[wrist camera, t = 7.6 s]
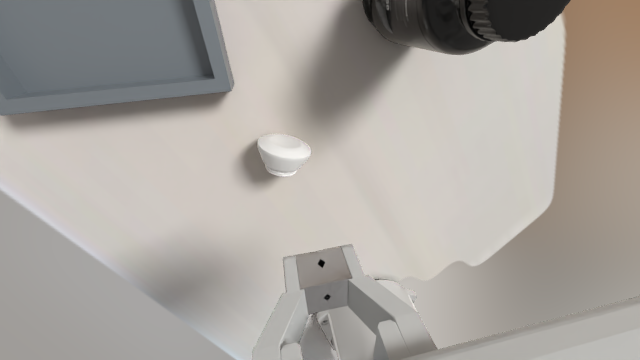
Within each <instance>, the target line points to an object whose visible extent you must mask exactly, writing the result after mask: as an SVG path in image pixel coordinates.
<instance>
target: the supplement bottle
mask: <svg viewBox="0 0 640 360" xmlns="http://www.w3.org/2000/svg"><path fill="white" fill-rule="evenodd" d="M569 2H570V0H459V8H457V7H455V6H454V5H453V4H452V2H451V0H386V15H387V20H388V24H389V26H390V29H391V30H392V32H393V33H391V32H389V31H388V30H387V29H386V28H385V27H384V25H383V24H382V22H381V20H380V18H379V16H378V13H377V9H376V4H375V0H370V10H371V15H372V19H373V22H374V24H375V26H376V28H377V30H378V31H379V32H380V34H381V35H382V36H383V37H385V38H386V39H387V40H389V41H391V42H394V43H397V44H401V45H406V46H411V47H416V48H421V49H426V50H430V51H435V52H440V53H445V54H451V55H464V54H469V53H473V52H476V51H478V50H481V49H483V48H485V47H486V46H488V45H490V44H491V43H493V42H495V41H502V42H517V41H520V40H526V39H528V38H529V37H530V36H535V35H536V34H537V33H538V32H539V31H542V30H544V29H545V28H546V27H547V26H548V25H549V24H551V23H552V22H553V21H554V20H555V18H556V17H557V16H558V15H559V14H561V13H562V11H563V10H564V8H565V6H566V5H567V4H568V3H569Z"/></svg>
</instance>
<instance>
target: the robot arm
mask: <svg viewBox="0 0 640 360" xmlns="http://www.w3.org/2000/svg"><path fill="white" fill-rule="evenodd" d="M283 265H284V276H285V287H286V293H283V294H282V295H281V297H280V299H279V301H278V303H277V305H276V307H275V309H274V311H273V313H272V315H271V316H270V318H269V320H268V322H267V324H266V326H265V328H264V330H263V332H262V334H261V336H260V337H259V339H258V341H257V343H256V345H255V347H254V349H253V351H252V360H303V355H302V351H301V346H300V345H299V342H300V339H301V337H302V334H303V331H304V328H305V325H306V322H307V319H308V315H310V314H314V313H317V312H318V313H317V314H316V317H317V321H318V323H319V325H320V326H321V328H322V330H323V332H324V334H325V335H326V337H327V339H328V341H329V343H330V344H331V346H332V348H333V350H335V351H336V352H337V356H338V360H640V296H638V297H634V298H630V299H626V300H623V301H619V302H615V303H611V304H608V305H604V306H601V307H596V308H593V309H589V310H585V311H582V312H578V313H574V314H570V315H566V316H563V317H559V318H555V319H551V320H547V321H543V322H540V323H536V324H532V325H529V326H525V327H521V328H517V329H513V330H510V331H506V332H502V333H498V334H494V335H491V336H487V337H484V338H480V339H476V340H472V341H468V342H464V343H461V344H457V345H453V346H449V347H446V348H442V349H437V347H436V345H435V344H434V342H433V340H432V338H431V336H430V334H429V332H428V330H427V329H426V327H425V325H424V323H423V321H422V319H421V317H420V315H419V313H418V312H417V311H416V309H415V307H414V304H413V303H414V301H415V300H416V298H417V296H416V294H415V291H413V290H410V289H405V288H403V287H402V286H401V285H400V284H398V283H396V282H394V281H390V280H375V279H373V278H372V277H371V276H369V275H366V276H365V274H364V271H363V269H362V266H361V264H360V261H359V259H358V257H357V254H356V252H355V249H354V247H353V245H352V244H349V245H344V246H338V247H333V248H328V249H323V250H319V251H316V252H310V253H304V254H298V255H296V257H295V255H293V256H287V257H283Z"/></svg>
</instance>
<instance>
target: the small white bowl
mask: <svg viewBox="0 0 640 360" xmlns="http://www.w3.org/2000/svg"><path fill="white" fill-rule="evenodd" d="M257 148H258V151H259V153H260V156H261V158H262V161H263V162H264V163H265V168H266V170H267V171H268V172H270V173H271V174H273V175H276V176H281V177H288V176H292V175H294V174H295V173H296V171H297V170H298V169H300V168H301V167H302V165H303V164H304V163H305V162H306V161H307V160H308V159H309V157H310V155H311V152H312V151H311V148H310V147H309V146H308V145H307V144H306V143H305V142H303V141H302V140H300V139H298V138H296V137H293V136H290V135H286V134H268V135H264V136H261V137H260V138H259V139H258V142H257Z"/></svg>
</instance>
